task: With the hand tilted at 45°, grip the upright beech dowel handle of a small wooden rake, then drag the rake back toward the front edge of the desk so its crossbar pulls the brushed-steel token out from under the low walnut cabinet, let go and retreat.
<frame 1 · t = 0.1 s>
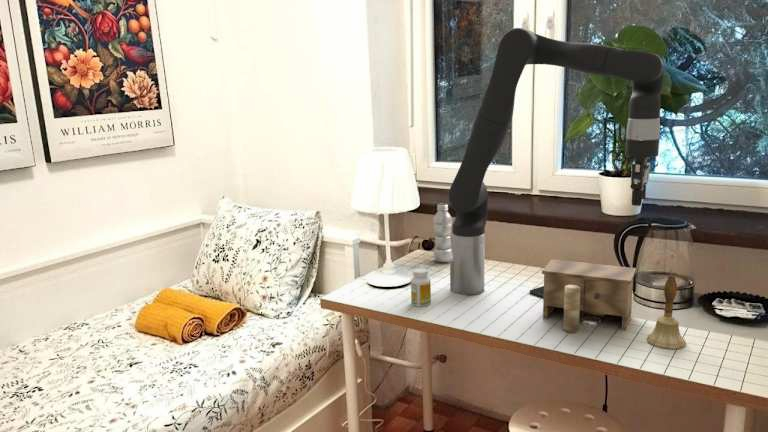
hand: (638, 202, 152), 29 cm above the table, tool pointing down, fingers open, 8 cm apart
supplement bottle: (421, 304, 169), on the table
token: (590, 323, 152), on the table
cabinet: (586, 317, 155), on the table
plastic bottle: (443, 262, 208), on the table
phone: (557, 299, 171), on the table
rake: (570, 330, 148), on the table
hand bell: (666, 342, 140), on the table
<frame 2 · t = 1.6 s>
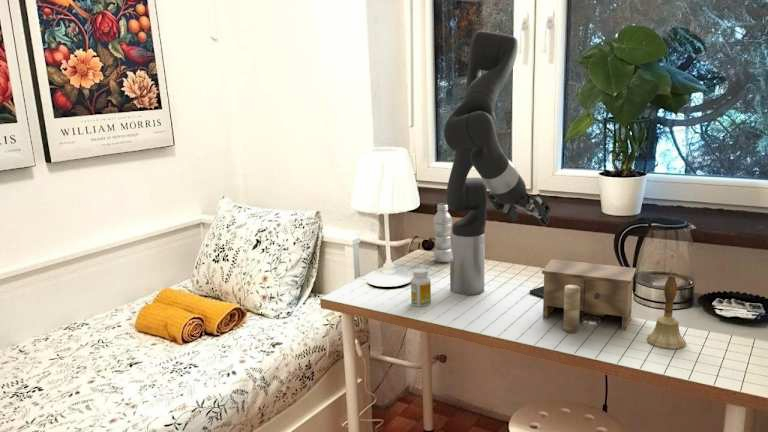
hand: (530, 220, 147), 27 cm above the table, tool tilted 45°, fingers open, 8 cm apart
nothing on the table moved.
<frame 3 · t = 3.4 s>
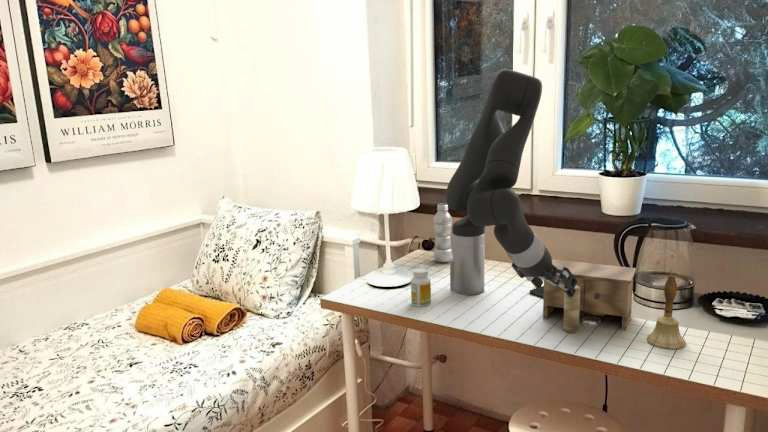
hand: (555, 289, 141), 12 cm above the table, tool tilted 45°, fingers open, 8 cm apart
nothing on the table moved.
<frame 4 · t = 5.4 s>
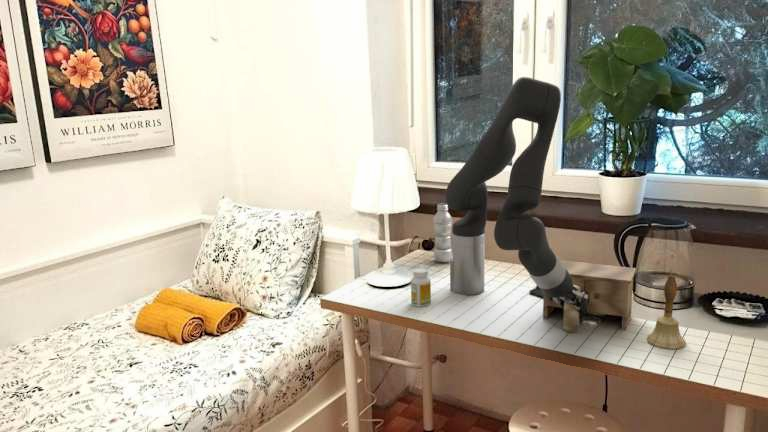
hand: (575, 310, 148), 5 cm above the table, tool tilted 45°, fingers closed on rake, 3 cm apart
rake: (570, 330, 148), on the table, touching gripper
everything else where it was.
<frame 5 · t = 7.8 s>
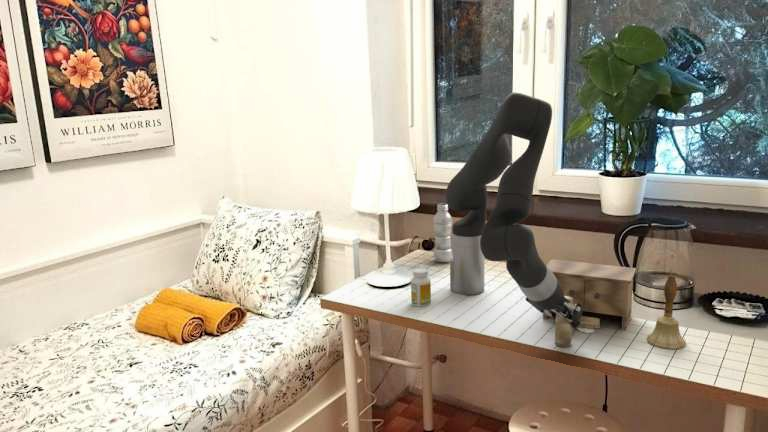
hand: (568, 322, 140), 5 cm above the table, tool tilted 45°, fingers closed on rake, 3 cm apart
token: (586, 331, 147), on the table
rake: (562, 343, 140), on the table, touching gripper
everything else where it was.
when the fingers open (5 cm above the table, at t = 8.5 s): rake stays where it is, on the table.
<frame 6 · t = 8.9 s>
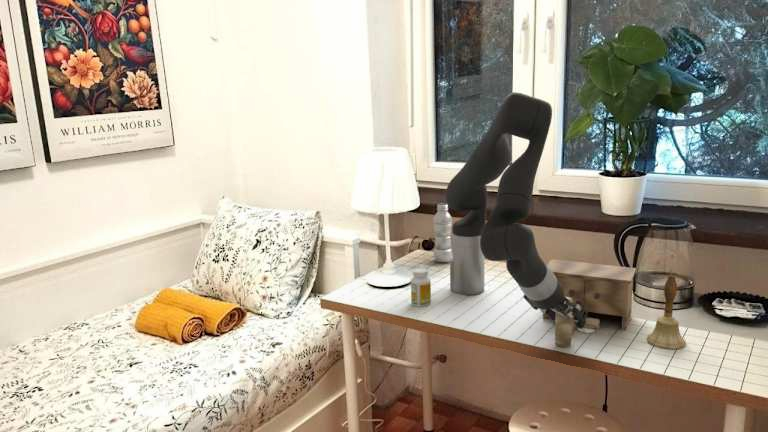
hand: (567, 320, 140), 5 cm above the table, tool tilted 45°, fingers open, 6 cm apart
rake: (562, 344, 140), on the table
everything else where it was.
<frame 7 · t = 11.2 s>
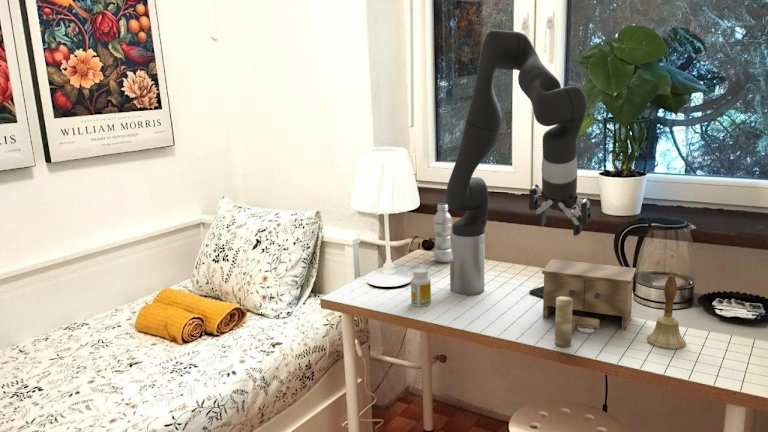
hand: (559, 228, 144), 25 cm above the table, tool tilted 25°, fingers open, 8 cm apart
nothing on the table moved.
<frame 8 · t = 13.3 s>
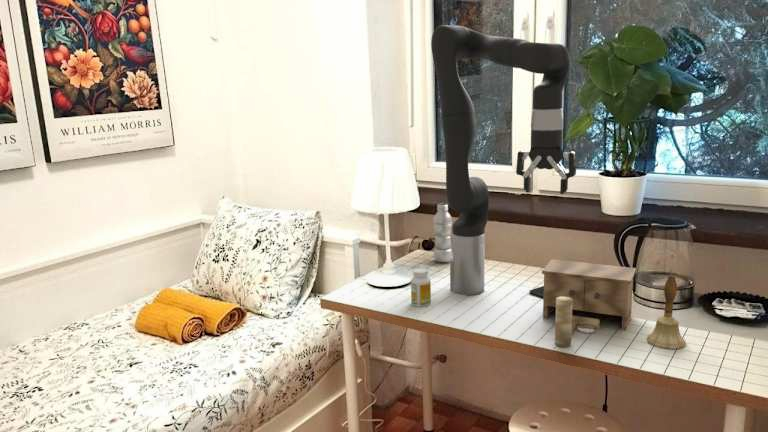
hand: (545, 192, 152), 32 cm above the table, tool pointing down, fingers open, 8 cm apart
nothing on the table moved.
at the end: token inside the target area (3.6 cm from its centre), on the table; token moved 5.5 cm from its start; the gripper is holding nothing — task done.
